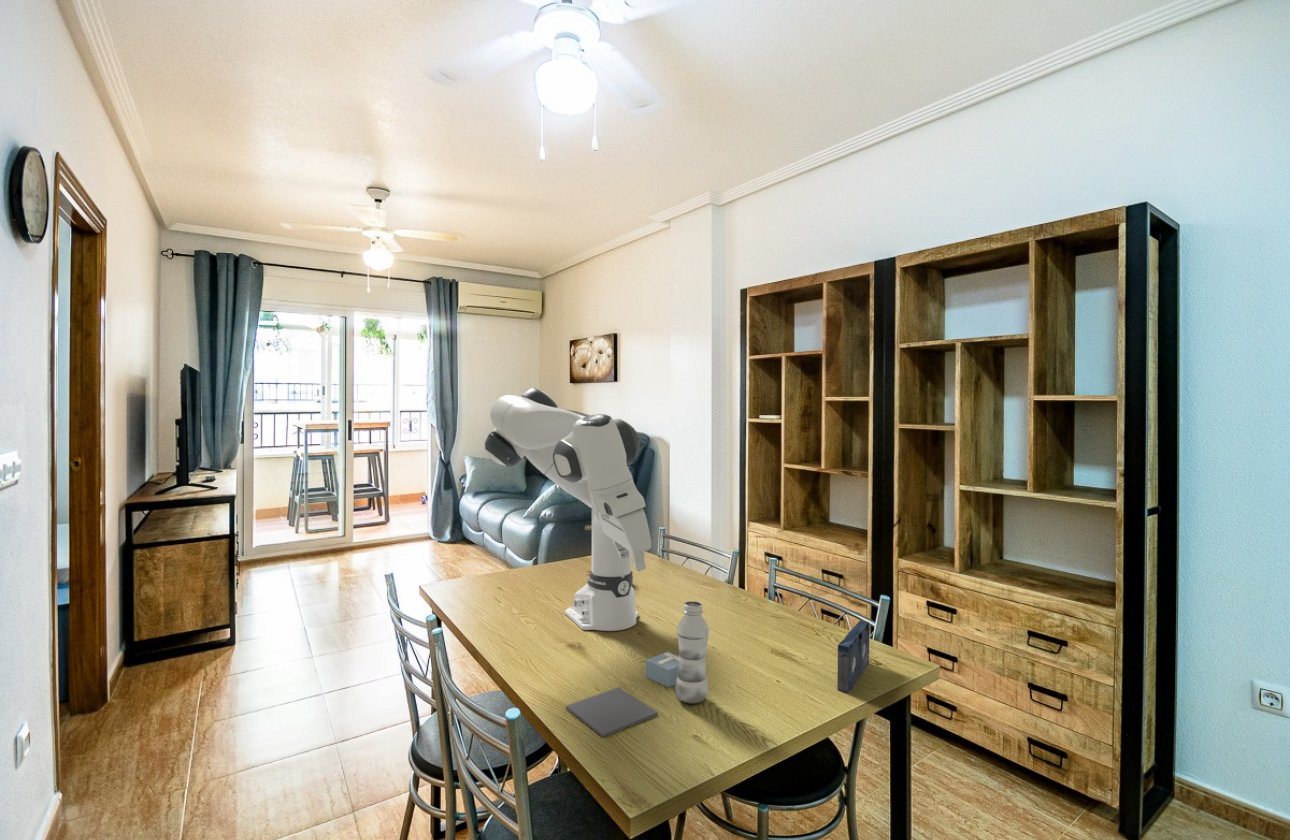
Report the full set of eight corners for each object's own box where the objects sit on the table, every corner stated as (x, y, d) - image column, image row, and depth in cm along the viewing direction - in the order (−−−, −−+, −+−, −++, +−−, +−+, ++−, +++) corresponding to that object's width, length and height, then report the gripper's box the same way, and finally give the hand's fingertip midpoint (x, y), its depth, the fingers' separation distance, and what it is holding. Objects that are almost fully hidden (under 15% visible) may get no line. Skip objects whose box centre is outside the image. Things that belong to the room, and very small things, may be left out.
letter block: (645, 677, 134) (645, 658, 134) (667, 668, 139) (667, 650, 139) (668, 688, 129) (668, 668, 129) (689, 678, 134) (690, 659, 134)
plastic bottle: (673, 692, 127) (674, 599, 126) (704, 692, 127) (706, 598, 127) (677, 708, 120) (678, 609, 120) (710, 707, 121) (712, 609, 120)
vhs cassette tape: (858, 660, 144) (859, 619, 144) (871, 663, 142) (872, 622, 142) (834, 690, 129) (835, 644, 129) (848, 694, 127) (849, 647, 127)
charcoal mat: (565, 708, 119) (565, 705, 119) (618, 690, 128) (618, 687, 128) (602, 737, 109) (602, 734, 109) (657, 715, 117) (657, 712, 117)
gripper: (584, 494, 125) (602, 556, 126) (615, 511, 105) (635, 583, 107) (612, 484, 127) (629, 545, 128) (647, 499, 108) (666, 570, 109)
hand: (632, 563), depth 118 cm, fingers open, 8 cm apart
